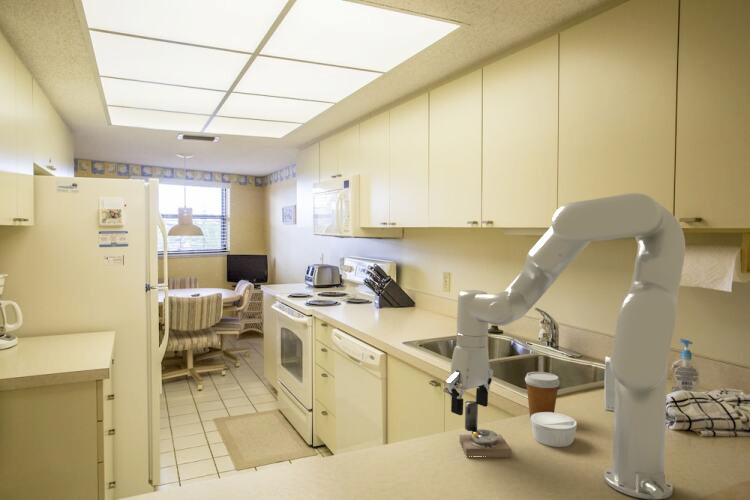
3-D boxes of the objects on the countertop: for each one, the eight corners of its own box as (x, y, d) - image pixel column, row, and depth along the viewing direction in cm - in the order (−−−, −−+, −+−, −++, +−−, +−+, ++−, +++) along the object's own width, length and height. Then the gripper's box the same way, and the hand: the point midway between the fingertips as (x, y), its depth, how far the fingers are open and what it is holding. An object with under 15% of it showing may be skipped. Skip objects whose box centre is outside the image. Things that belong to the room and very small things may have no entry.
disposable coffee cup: (548, 426, 135) (549, 382, 135) (517, 416, 143) (518, 375, 142) (565, 418, 142) (566, 376, 141) (535, 409, 149) (536, 369, 148)
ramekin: (566, 453, 119) (566, 431, 119) (522, 440, 126) (522, 419, 126) (583, 439, 127) (583, 419, 127) (541, 428, 135) (541, 408, 134)
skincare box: (626, 413, 146) (627, 363, 146) (603, 410, 149) (604, 360, 148) (625, 404, 154) (626, 356, 153) (604, 401, 156) (605, 354, 156)
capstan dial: (484, 448, 115) (484, 414, 115) (455, 437, 122) (456, 404, 122) (502, 440, 120) (502, 407, 120) (473, 429, 126) (474, 398, 126)
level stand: (510, 457, 116) (510, 446, 116) (466, 457, 116) (466, 446, 116) (500, 442, 125) (501, 432, 125) (459, 442, 124) (459, 432, 124)
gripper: (481, 333, 131) (478, 398, 132) (436, 342, 120) (434, 412, 121) (505, 339, 126) (502, 406, 126) (461, 348, 114) (459, 422, 115)
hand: (469, 409), depth 123 cm, fingers open, 9 cm apart
